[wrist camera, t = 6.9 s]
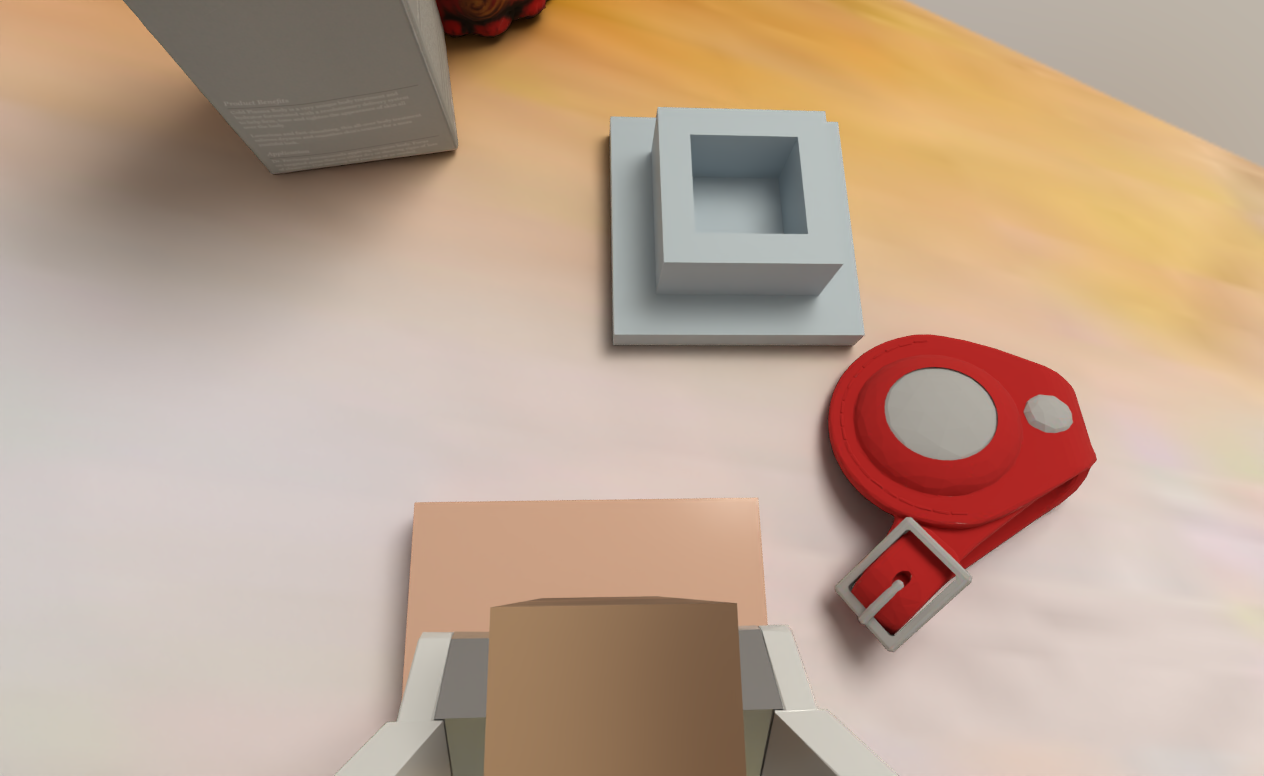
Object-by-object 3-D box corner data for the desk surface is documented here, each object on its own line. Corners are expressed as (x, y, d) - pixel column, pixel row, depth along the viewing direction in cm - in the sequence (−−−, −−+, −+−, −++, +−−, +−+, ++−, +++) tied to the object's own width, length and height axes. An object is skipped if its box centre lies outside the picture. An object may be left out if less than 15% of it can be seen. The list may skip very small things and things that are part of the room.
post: (539, 725, 17) (478, 897, 7) (541, 598, 18) (490, 607, 8) (660, 721, 17) (751, 886, 8) (658, 596, 18) (736, 603, 9)
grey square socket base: (612, 345, 28) (617, 305, 24) (609, 134, 31) (613, 69, 27) (853, 345, 29) (894, 307, 25) (828, 139, 32) (862, 76, 28)
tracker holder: (807, 326, 28) (1077, 303, 26) (803, 381, 32) (1039, 365, 30) (849, 641, 22) (1202, 637, 20) (838, 663, 26) (1135, 661, 24)
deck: (410, 780, 23) (394, 797, 21) (427, 509, 26) (414, 502, 24) (763, 765, 24) (778, 780, 22) (745, 504, 27) (758, 497, 25)
